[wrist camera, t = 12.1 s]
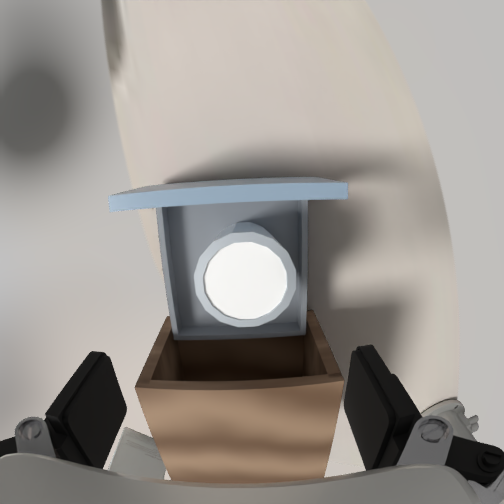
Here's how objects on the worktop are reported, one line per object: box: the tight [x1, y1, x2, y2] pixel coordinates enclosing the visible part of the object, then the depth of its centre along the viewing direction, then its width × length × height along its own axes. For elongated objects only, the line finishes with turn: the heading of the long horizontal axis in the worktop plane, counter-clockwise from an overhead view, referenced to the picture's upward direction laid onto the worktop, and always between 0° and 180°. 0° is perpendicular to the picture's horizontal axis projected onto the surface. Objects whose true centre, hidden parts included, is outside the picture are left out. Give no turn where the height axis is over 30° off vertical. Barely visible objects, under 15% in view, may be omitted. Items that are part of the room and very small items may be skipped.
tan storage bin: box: [135, 310, 344, 484], centre depth 27 cm, size 14×15×12 cm
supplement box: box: [108, 427, 166, 480], centre depth 31 cm, size 7×7×13 cm
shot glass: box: [194, 222, 296, 327], centre depth 24 cm, size 7×7×7 cm
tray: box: [108, 177, 348, 340], centre depth 24 cm, size 14×15×9 cm
